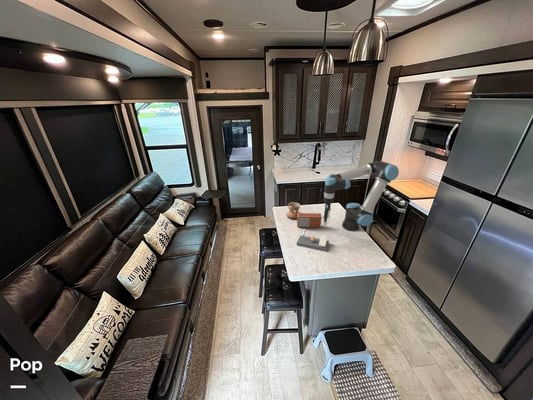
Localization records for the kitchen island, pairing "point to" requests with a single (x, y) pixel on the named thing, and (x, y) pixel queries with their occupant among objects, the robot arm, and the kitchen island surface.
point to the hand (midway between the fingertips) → (326, 221)
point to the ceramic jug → (293, 210)
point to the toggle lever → (304, 232)
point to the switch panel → (311, 243)
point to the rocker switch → (323, 240)
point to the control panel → (309, 219)
